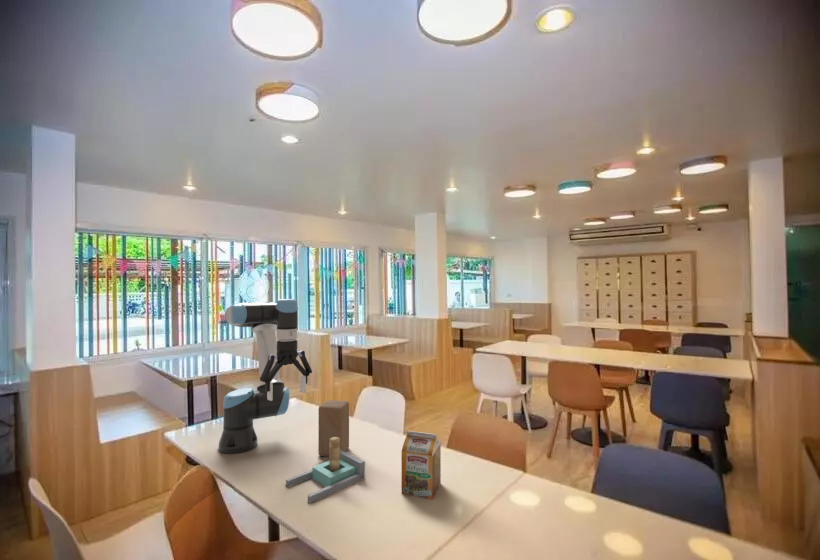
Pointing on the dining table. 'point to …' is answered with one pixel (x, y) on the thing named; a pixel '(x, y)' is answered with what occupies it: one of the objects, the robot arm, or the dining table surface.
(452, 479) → the dining table surface
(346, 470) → the teal square ring
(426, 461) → the milk carton
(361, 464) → the track
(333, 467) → the dowel
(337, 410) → the block
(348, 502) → the dining table surface
